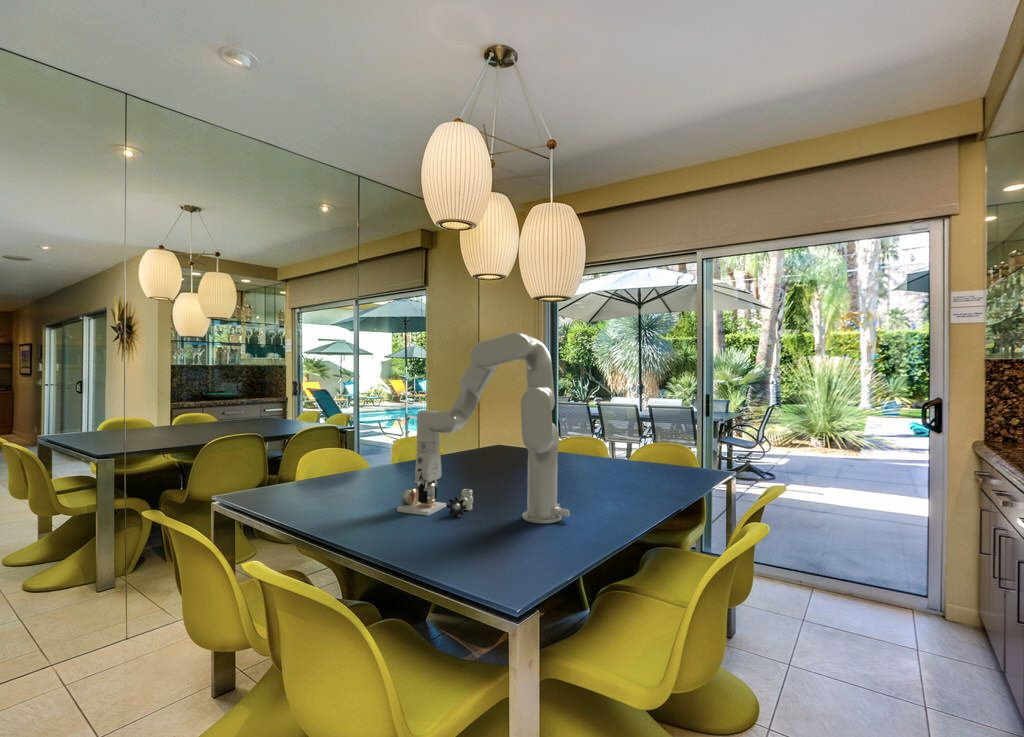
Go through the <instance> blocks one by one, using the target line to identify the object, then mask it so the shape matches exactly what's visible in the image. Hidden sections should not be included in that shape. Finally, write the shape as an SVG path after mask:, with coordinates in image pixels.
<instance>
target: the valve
mask: <svg viewBox="0 0 1024 737" xmlns="http://www.w3.org/2000/svg"><path fill="white" fill-rule="evenodd" d="M460 495H461V497H459V496H457V495H456V496H455V497H454V500H453V498H449V500H448V502H449V503H450V504H449V503H448V504H446V508H447V509H450V510H449V511H448V513H449V515H453V514H454V517H455V518H458V517H459V516H464V515H465V512H464V510H468V511H472V510H473V502H474V496H473V489H470V488H464V489H462V490H461V494H460ZM471 509H472V510H471ZM459 514H460V515H459Z"/></svg>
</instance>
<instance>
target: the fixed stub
mask: <svg viewBox="0 0 1024 737" xmlns="http://www.w3.org/2000/svg"><path fill="white" fill-rule="evenodd" d="M400 500H401V504H400V506H405V505H407V504H410V506H413V505H415V504H417V503H418V488H412V489H405V490H404V491H403V492H402V496H401V499H400Z"/></svg>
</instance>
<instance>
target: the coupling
mask: <svg viewBox="0 0 1024 737" xmlns="http://www.w3.org/2000/svg"><path fill="white" fill-rule="evenodd" d="M422 484H423V486H424V483H422ZM426 491H428V498H427V503H422V504H432V503H434V502H436V499H435V482H428V483H427V489H426ZM420 503H421V502H420Z"/></svg>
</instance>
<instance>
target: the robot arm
mask: <svg viewBox="0 0 1024 737" xmlns="http://www.w3.org/2000/svg"><path fill="white" fill-rule="evenodd" d="M469 359H470V363H469V365H468V366H467V368H466V369H465V371H464V372H463V374H462V376H461V377H460V379H459V387H460V390H459V395H458V397H457V399H456V400H455V402H454V404H453V405H452V407H451V409H447V410H442V411H437V410H432V409H423V410H420V411H418V412H417V415H416V457H415V468H414V470H415V472H414V476H415V477H414V478H415V480H414V483H413V484H414V485H415V486H416V489H418V502H421V503H427V498H428V491H426V489H427V483H428V482H435V500H436V499H437V493H438V491H437V489H438V488H437V487H438V483H439V482H438V481H439V479H440V478H441V477H442V458H441V451H440V433H441V434H451V433H454V432H457V431H459V430H462V429H463V428H464V427H465V426H466V425H467V423H468V421H469V420H470V419H471V417H472V415H473V414H474V412H475V410H476V408H477V406H478V404H479V401H480V399H481V397H482V394H483V392H484V390H485V388H486V387H487V385H488V384H489V382H491V379H492V378H493V375H494V374H495V372H496V371H497V370H498V368H499V366H500V365H503V364H506V363H509V362H514V361H522V362H523V361H524V363H525V365H526V391H524V392H523V395H522V397H521V399H520V419H521V420H520V421H521V422H520V423H521V438H522V444H523V445H524V447H525V448H526V449H527V452H528V453H527V455H528V456H527V498H526V500H527V507H526V508H527V509H526V511H524V512H523V513H522V516H521V517H522V518H521V519H523V520H524V521H526V522H529V523H531V524H554V523H558V522H560V521H561V520H562V518H563V517H567V518H569V517H570V510H569V509H568V508H562V507H560V504H561V503H558V459H559V458H558V456H559V454H558V453H559V443H560V442H559V441H560V440H559V439H560V438H559V430H558V427H557V426H556V424H555V423H553V412H552V411H553V409H554V408H555V404H556V398H555V386H554V385H555V384H554V374H553V373H554V372H553V361H552V357H551V353H550V351H549V350H548V348H547V347H546V345H545V344H544V343H543V342H541V341H540V340H538V339H537V338H535V337H533V336H530V335H529V334H524V333H522V332H511V333H508V334H504V335H501V336H498V337H494V338H491V339H487V340H484V341H480V342H478V343H476V344H474V345H473V347H472V348H471V350H470V354H469ZM422 483H424V486H423V484H422Z"/></svg>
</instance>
